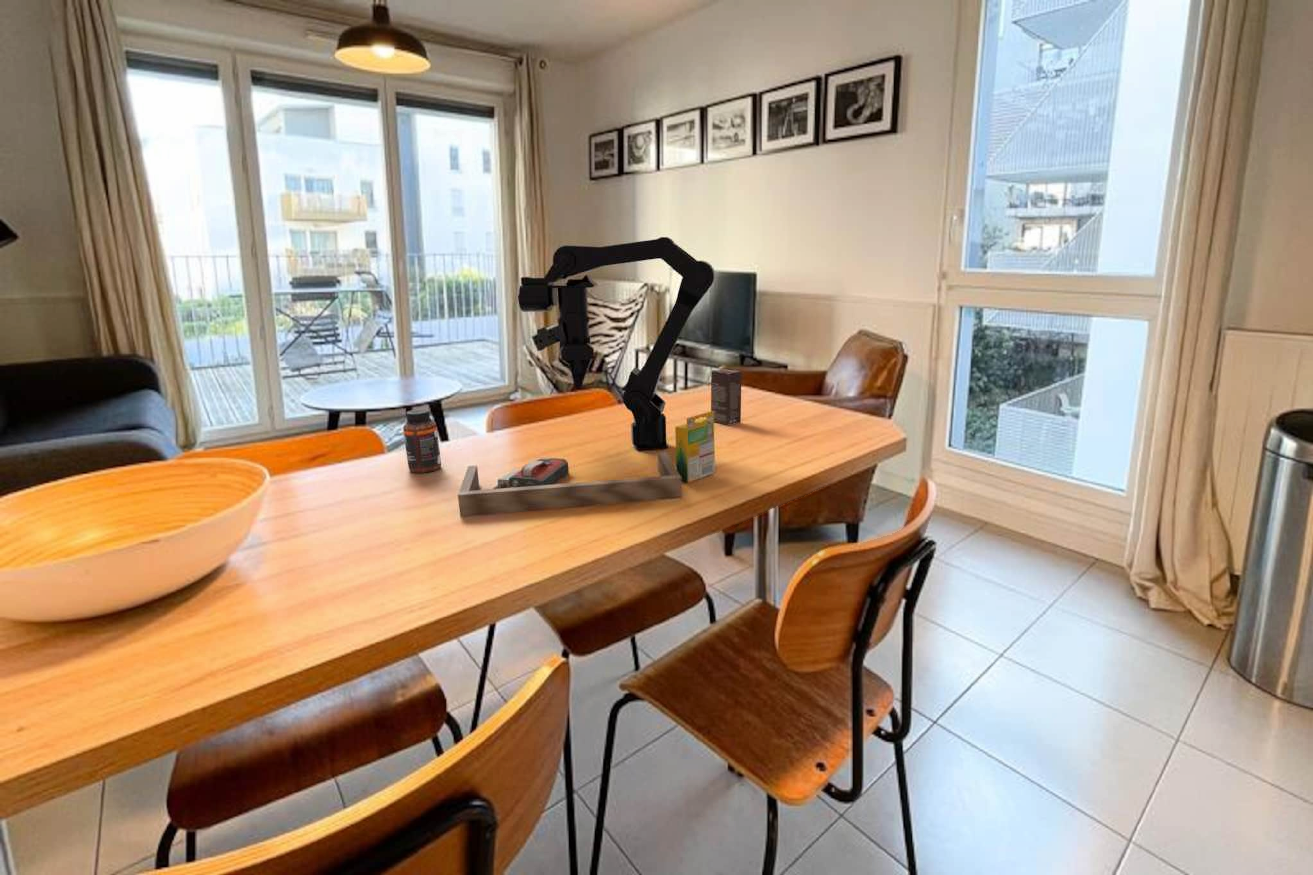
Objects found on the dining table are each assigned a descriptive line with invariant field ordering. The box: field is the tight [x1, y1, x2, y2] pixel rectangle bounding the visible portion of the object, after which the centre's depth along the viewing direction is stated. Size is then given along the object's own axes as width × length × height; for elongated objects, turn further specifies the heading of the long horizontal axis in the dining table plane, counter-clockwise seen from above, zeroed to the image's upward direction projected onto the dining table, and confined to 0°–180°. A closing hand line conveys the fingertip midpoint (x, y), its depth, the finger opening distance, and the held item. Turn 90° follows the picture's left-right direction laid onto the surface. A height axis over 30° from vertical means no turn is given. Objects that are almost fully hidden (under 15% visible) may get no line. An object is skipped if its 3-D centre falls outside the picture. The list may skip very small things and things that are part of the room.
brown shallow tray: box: [457, 451, 683, 517], centre depth 113 cm, size 35×14×4 cm, turn 99°
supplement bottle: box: [402, 408, 442, 474], centre depth 126 cm, size 6×6×11 cm
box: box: [710, 368, 742, 426], centre depth 154 cm, size 6×4×12 cm
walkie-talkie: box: [492, 457, 570, 489], centre depth 115 cm, size 9×4×20 cm
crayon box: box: [674, 410, 716, 484], centre depth 117 cm, size 7×3×12 cm, turn 134°
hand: (577, 388), depth 137 cm, fingers closed
